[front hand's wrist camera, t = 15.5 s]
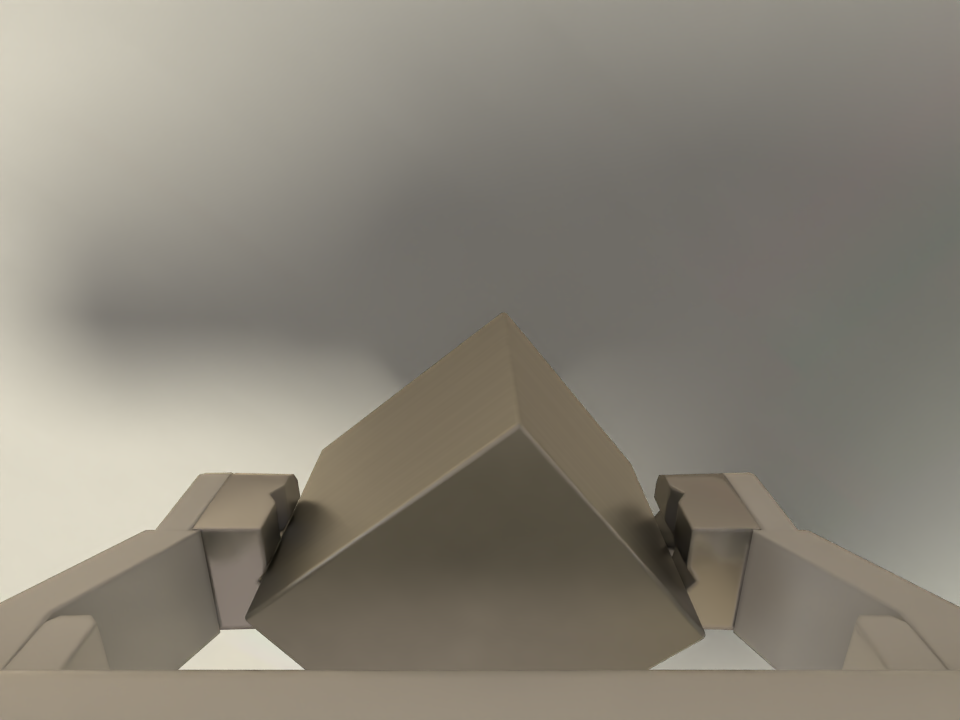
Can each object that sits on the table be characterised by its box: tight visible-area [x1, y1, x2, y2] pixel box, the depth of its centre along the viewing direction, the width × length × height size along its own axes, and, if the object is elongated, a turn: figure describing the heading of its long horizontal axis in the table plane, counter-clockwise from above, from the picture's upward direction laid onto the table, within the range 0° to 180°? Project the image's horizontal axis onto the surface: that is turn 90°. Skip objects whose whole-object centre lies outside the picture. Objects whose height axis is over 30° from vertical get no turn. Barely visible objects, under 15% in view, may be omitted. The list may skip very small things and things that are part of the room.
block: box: [245, 312, 705, 670], centre depth 10 cm, size 4×4×4 cm
